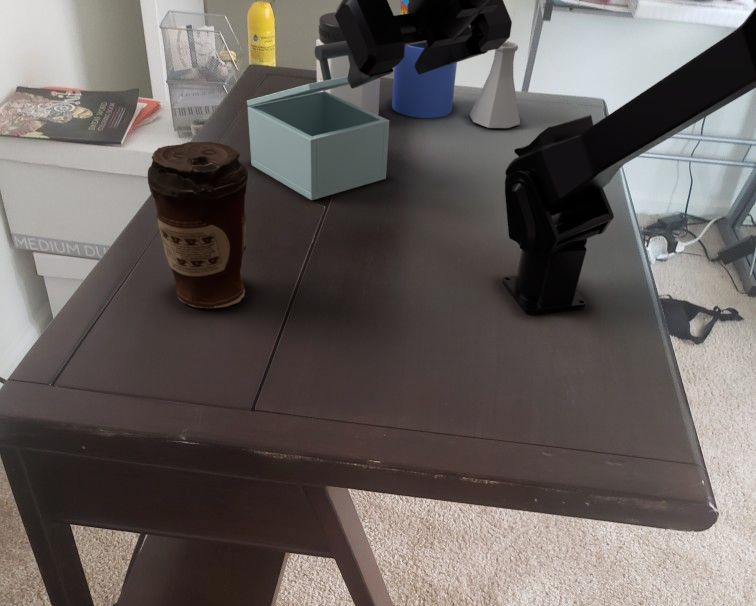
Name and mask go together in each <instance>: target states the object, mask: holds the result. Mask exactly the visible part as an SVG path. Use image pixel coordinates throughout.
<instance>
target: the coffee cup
mask: <svg viewBox="0 0 756 606" xmlns="http://www.w3.org/2000/svg"><path fill="white" fill-rule="evenodd" d="M240 156H241V154H240V152H239V151H238V150H236V149H234V148H233V147H231V146H230V145H228V144H224V143H219V142H215V141H214V142H213V141H187V142H184V143H181V144H172V145H165V146H161V147H158V148H157V149H156V150H154V152H153V153H152V156H151V164H150V166H149V167H148V168H147V185H148V188H149V192H150V194H151V196H152V198H153V199H154V205H155V208H156V219H157V225H158V229H159V234H160V237H161V240H162V245H163V250H164V255H165V259H166V261H167V263H168V264H167V265H168V266H169V267H170V269H171V271H172V274H173V278H174V282H175V291H176V296H177V298H178V299H179V301H180V302H181V303H184V304H186V305H188V306H190V307H194V308H198V309H218V308H225V307H229V306H232V305H235V304H238V303H240V302H241V301H242V299H243V298H245V293H246V290H245V289H246V288H245V285H244V283H243V281H242V279H241V277H242V276H241V275H242V274H241V269H242V263H243V262H242V261H243V255H244V252H245V251H246V248H247V244H246V231H247V218H246V213H245V212H246V211H245V207H246V206H245V203H246V198H245V197H246V194H247V189H248V188H247V185H248V180H249V179H248V177H249V176H248V175H249V174H248V173H249V170H248V168H247V166H246V165H245V164H243V163H242V162H241V161H239V158H240Z"/></svg>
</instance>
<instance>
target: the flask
mask: <svg viewBox="0 0 756 606" xmlns="http://www.w3.org/2000/svg"><path fill="white" fill-rule="evenodd" d="M518 49H519V45H518V44H517V43H515V42H512V41H508V40H506V41H505V42H504V43H503V44H502V46H501V47H500V48H499V49H494V56H493V57H494V58H493V60H492V64H491V68H490V71H489V73H488V76H487V77H486V78H487V79H486V80H485V82H484V85H483V87H482V89H481V91H480V93H479V95H478V97H477V99H476V101H475V103H474V105H473V107H472V109H471V111H470V112H469V117H470V119H471V121H472V123H475V124H478V125H480V126H483V127H486V128H488V129H510V128H512V127H515V126H519V125H521V119H520V113H519V108H518V101H517V94H516V88H515V80H514V62H515V54H516V52H517V51H518Z"/></svg>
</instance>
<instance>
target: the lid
mask: <svg viewBox="0 0 756 606" xmlns="http://www.w3.org/2000/svg"><path fill="white" fill-rule="evenodd" d="M314 56H315V59H316V61H317V60H319V62H320V67H321V72H322V77H323V81H321V82H317V81H316V82H311V83H307V84H303V85H300V86H296V87H293V88H289V89H284V90H281V91H277V92H273V93H270V94H267V95H262V96H259V97H255V98H251V99H248V100H246V104H247V107H250V106H254V105H259V104H264V103H269V102H273V101H278V100H283V99H288V98H293V97H298V96H302V95H307V94H312V93H317V92H320V91H324V90H328V89H332V88H336V87H340V86H344V85H348V84H349V82H348V79H347V78H348V76H346V77H341V78H336V79H331V75H330V70H329V64H328V59H332V58H337V57H343V56H348V59H349V64H350V62H351V57H352V53H351V51H350V49H349V47H348V44H347V42H346V41H342V42H336V43H330V44H324V45H318V46H316V45H315V47H314ZM392 74H393V72H392V73H390V74H387V75H392ZM387 75H386V76H387Z"/></svg>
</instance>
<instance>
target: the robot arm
mask: <svg viewBox="0 0 756 606" xmlns="http://www.w3.org/2000/svg"><path fill="white" fill-rule="evenodd" d="M335 12H336V13H335V18H336V20H337V22H338V24H339V26H340V29H341V31H342V33H343V35H344V38H345V40H346V42H347V44H348V47H349V49H350V51H351V53H352V57H351V62H350V67H349V72H348V78H347V79H348V82H349V84H350V87H351V88H352V89H353V88H357V87H359V86H362V85H364V84H366V83H369V82H371V81H373V80H376V79H378V78H380V79H381V78H383V77H385V76H387V74H388V75H391V74H390V73H392V74H393V73H394V67H395V66H397V65H398V64H399V63H400V62H401V61H402V59H403V58H404V51H405V46H408V45H413V44H418V43H424V42H427V43H428V44H427V45H426V47H425V48H424V50H423V51H422V53H421V54H420V56H419V58H418V59H417V61H416V63H415V69H416V71H417V73H418V74H423V73H426V72H429V71H432V70H435V69H438V68H441V67H444V66H447V65H450V64H453V63H456V62H457V63H459V62H463V61H466V60H468V59H471V58H474V57H478V56H481V55H485V54H487V53H488V52H490V51H495V49H499V48H500V47H501V46H502V44H503V43H504V42H505V41H508V39H510V37H511V32H512V26H513V25H512V24H513V21H512V18H511V15H510V14H509V12H508V9H507V6H506V4H505V2H504V0H409V3H408V14H401V13H400V14H396V15H394V12H393V10H392V8H391V6H390V3H389V1H388V0H341V2H340V3H339V4H338V6H337V8H336V10H335ZM755 89H756V6H755V7H754V9H753V10H752V11H751V12H750V13H749V14H748V16H747V17H746V19H745V20H744V21H743V22H742V24H741V25H739V26H738V27H737V28H736V29H735V30H734V31H732V32H731V33H729V34H728V35H726V36H725V37H723V38H722V39H720V40H719V41H716V43H714V44H712V45H711V46H710V47H708V48H707V49H705V50H704V51H702V52H701V53H699V54H698V55H696V56H695V57H693V58H692V59H690V60H689V61H687V62H686V63H684V64H683V65H681V66H680V67H678V68H677V69H675V70H674V71H673V72H671V73H669V74H667V75H666V76H665V77H663V78H662V79H660V80H659V81H658V82H656V83H654V84H653V85H652V86H650V87H648V88H647V89H646V90H644V91H643V92H640V94H638V95H636V96H635V97H634V98H632V99H630V100H629V101H627V102H626V103H624V104H623V105H622V106H620V107H618V108H617V109H616V110H614V111H613V112H611V113H609V114H607V116H605V117H604V118H602V119H601V120H599V121H598V122H596V123H595V124H594V122H593V116H592V115H591V114H589V115H585V116H582V117H578V118H575V119H571V120H568V121H565V122H562V123H559V124H555V125H551V126H547V128H545V129H544V130H543V131H541V132H540V133H539V134H538V135H537V136H536V137H535V138H534V139H533V140H532V141H531V142H530V143H529V144H527V145H524V146H520V147H517V148H514V154H515V155H516V156H517V157H515V158H514V159H513V160H512V161H510V163H509V164H508V166H507V167H506V169H505V172H504V173H505V180H504V196H505V208H506V220H507V221H506V222H507V231H508V233H507V234H508V237H509V240H512V241H514V242H515V243H517V245H518V246H519V249H520V250H521V252H520V258H519V262H518V268H517V275H509V276H503V277H502V281H501V283H502V285H503V286H504V287H505V289H506V290H507V291H508V293H509V294H510V295H511V296H512V297H513V299H514V300H515V302H516V303H517V304H518V306H519V307H520V308H521V310H522V311H523V312H524V313H525V314H527V315H528V314H531V315H532V314H541V313H542V314H543V313H551V312H559V311H560V312H561V311H570V310H578V309H584V308H586V306H587V301H586V300H585V298H584V297H583V296H582V295H581V293H579V292H578V290H577V288H578V285H579V284H578V283H579V281H580V276H581V273H582V270H583V265H584V261H585V258H586V254H587V251H588V249H587V247H586V246H587V243H588V239H589V238H592V237H594V236H598V235H601V234H604V233H605V232H606V230H607V228H608V227H609V226H610V224H611V223H612V221H613V220H614V217H615V215H614V212H613V210H612V207H611V205H610V202H609V200H608V197H607V194H606V192H605V190H604V187H606V186H607V185H609V184H610V182H611V181H612V179H613V178H614V176H616V174H617V173H618V172H619V170H620V169H621V168H622V167H623V166H624V165H626V164H628V163H629V162H631V161H633V160H634V159H636V158H637V157H639V156H641V155H642V154H644V153H646V152H648V151H650V150H652V149H653V148H655V147H657V146H658V145H660V144H662V143H664V142H665V141H667V140H669V139H670V138H673V137H674V136H675V135H678V134H679V133H680V132H682V131H684V130H685V129H687V128H689V127H691V126H693V125H695V124H696V123H698V122H699V121H701V120H703V119H705V118H707V117H708V116H710V115H711V114H713V113H715V112H716V111H718V110H721V109H722V108H724V107H726V106H727V105H729V104H730V103H732V102H734V101H736V100H738V99H739V98H741V97H743V96H744V95H746V94H748V93H749V92H751V91H753V90H755Z"/></svg>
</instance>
